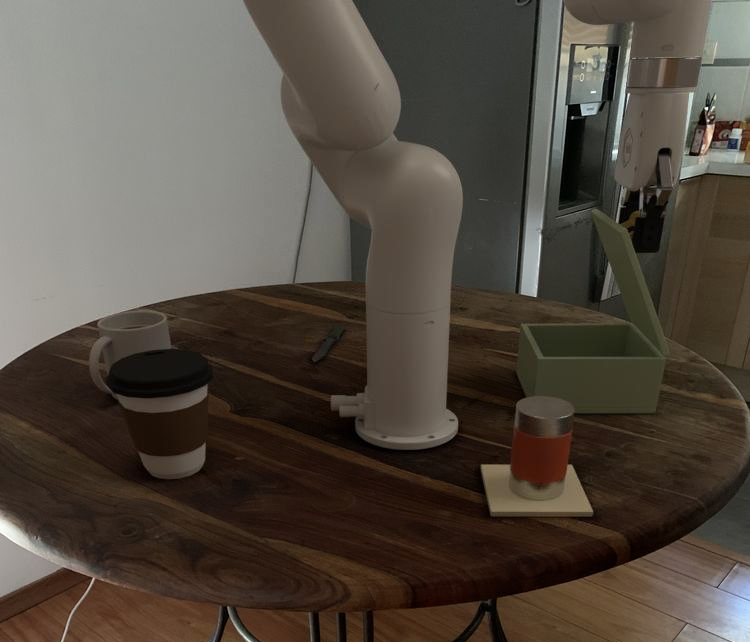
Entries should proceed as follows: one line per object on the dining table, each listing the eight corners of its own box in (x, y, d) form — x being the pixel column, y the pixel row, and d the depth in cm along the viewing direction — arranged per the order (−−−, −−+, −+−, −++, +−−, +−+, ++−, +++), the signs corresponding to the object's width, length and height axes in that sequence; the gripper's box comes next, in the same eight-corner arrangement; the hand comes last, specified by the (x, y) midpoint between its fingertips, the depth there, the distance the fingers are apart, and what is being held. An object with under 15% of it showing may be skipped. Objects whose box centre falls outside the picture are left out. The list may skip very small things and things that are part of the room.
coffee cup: (120, 454, 85) (100, 354, 79) (214, 438, 88) (202, 342, 82) (130, 498, 76) (108, 389, 70) (234, 478, 80) (222, 373, 74)
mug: (173, 375, 107) (162, 307, 102) (182, 399, 99) (171, 326, 94) (95, 386, 104) (80, 316, 99) (98, 411, 96) (82, 336, 91)
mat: (490, 516, 72) (491, 511, 72) (480, 469, 81) (480, 464, 81) (592, 516, 72) (593, 511, 72) (571, 469, 81) (572, 464, 80)
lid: (620, 232, 83) (663, 210, 81) (590, 211, 95) (627, 191, 94) (663, 356, 90) (704, 338, 88) (630, 321, 102) (665, 304, 101)
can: (512, 500, 74) (520, 418, 69) (504, 474, 79) (511, 395, 74) (569, 501, 74) (581, 418, 69) (558, 474, 79) (568, 395, 74)
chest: (532, 413, 94) (538, 358, 90) (516, 373, 107) (520, 323, 103) (655, 413, 94) (666, 358, 90) (624, 372, 106) (632, 323, 102)
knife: (332, 322, 125) (349, 321, 125) (332, 327, 126) (349, 325, 125) (305, 360, 111) (324, 359, 110) (306, 365, 111) (325, 364, 110)
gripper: (608, 77, 89) (590, 233, 98) (650, 79, 74) (623, 263, 83) (671, 76, 88) (647, 232, 98) (726, 78, 74) (691, 262, 83)
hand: (636, 244), depth 90 cm, fingers closed on lid, 6 cm apart
